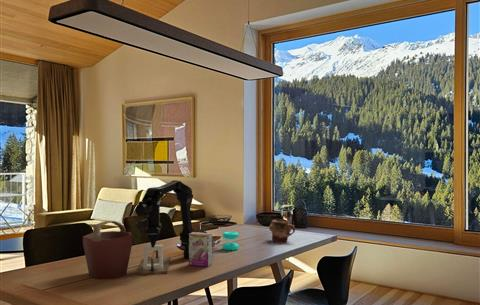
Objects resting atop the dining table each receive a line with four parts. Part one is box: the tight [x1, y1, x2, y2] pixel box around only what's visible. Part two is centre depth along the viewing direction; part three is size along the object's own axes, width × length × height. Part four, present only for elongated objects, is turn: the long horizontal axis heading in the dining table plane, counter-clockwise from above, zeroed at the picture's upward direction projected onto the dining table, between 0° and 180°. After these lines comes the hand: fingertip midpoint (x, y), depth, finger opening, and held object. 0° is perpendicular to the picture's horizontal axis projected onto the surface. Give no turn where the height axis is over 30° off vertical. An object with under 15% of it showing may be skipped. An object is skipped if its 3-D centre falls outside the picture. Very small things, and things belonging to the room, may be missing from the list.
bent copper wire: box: [150, 250, 159, 271], centre depth 223 cm, size 1×29×9 cm, turn 6°
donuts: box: [221, 231, 240, 251], centre depth 265 cm, size 10×10×10 cm
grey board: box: [136, 255, 171, 275], centre depth 224 cm, size 14×31×1 cm, turn 6°
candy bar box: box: [188, 231, 213, 268], centre depth 226 cm, size 11×5×16 cm, turn 71°
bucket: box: [82, 220, 134, 280], centre depth 208 cm, size 24×22×25 cm
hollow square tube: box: [143, 244, 164, 269], centre depth 215 cm, size 9×5×11 cm, turn 96°
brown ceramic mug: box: [268, 219, 296, 243], centre depth 290 cm, size 20×12×14 cm, turn 56°
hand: (153, 245), depth 215 cm, fingers open, 9 cm apart
